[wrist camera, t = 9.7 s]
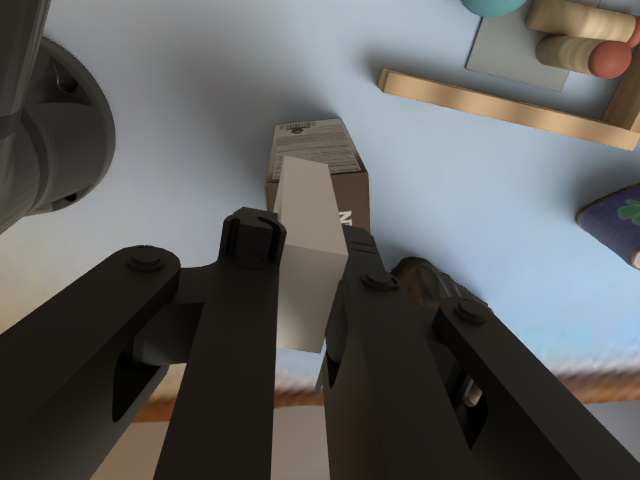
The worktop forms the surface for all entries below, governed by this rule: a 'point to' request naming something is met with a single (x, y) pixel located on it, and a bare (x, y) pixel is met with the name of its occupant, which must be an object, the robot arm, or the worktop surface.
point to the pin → (585, 55)
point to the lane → (533, 106)
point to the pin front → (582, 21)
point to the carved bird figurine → (432, 292)
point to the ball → (492, 7)
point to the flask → (616, 223)
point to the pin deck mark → (515, 50)
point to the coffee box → (329, 148)
